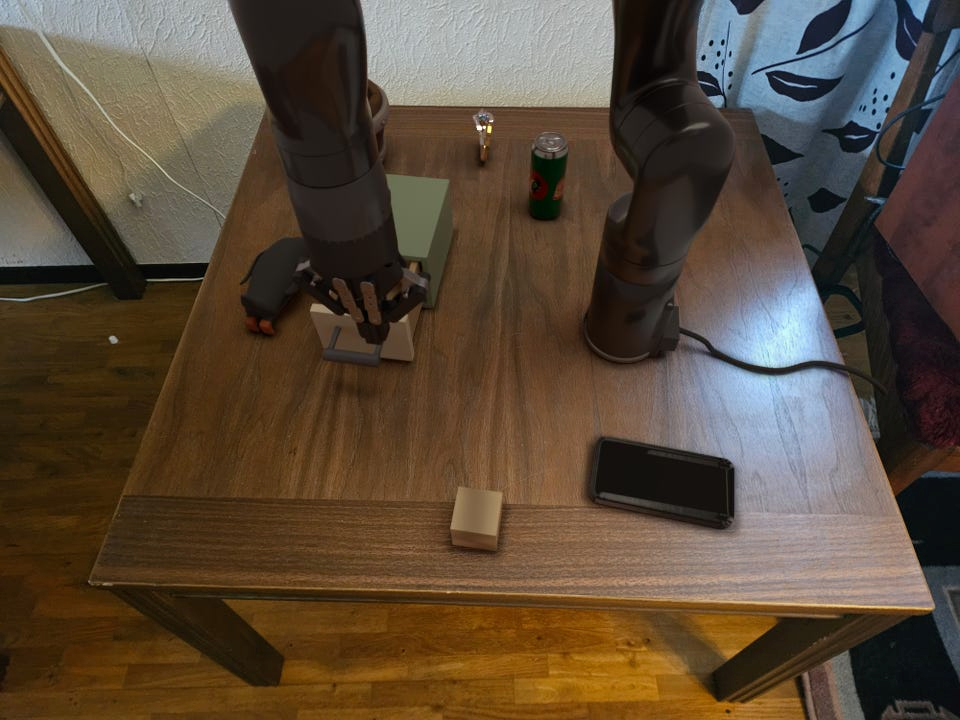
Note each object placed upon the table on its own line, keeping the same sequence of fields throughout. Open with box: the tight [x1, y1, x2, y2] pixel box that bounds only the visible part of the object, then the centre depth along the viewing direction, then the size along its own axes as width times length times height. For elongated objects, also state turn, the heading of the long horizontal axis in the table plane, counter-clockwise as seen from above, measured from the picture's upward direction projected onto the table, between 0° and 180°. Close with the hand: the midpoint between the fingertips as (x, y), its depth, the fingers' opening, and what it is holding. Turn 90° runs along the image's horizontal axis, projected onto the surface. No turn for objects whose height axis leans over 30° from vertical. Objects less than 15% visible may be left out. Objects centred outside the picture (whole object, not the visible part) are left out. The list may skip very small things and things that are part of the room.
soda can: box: [527, 131, 570, 220], centre depth 90 cm, size 5×5×12 cm
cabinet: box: [386, 173, 454, 309], centre depth 85 cm, size 15×13×10 cm
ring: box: [472, 108, 495, 162], centre depth 99 cm, size 7×3×8 cm, turn 178°
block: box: [449, 485, 504, 552], centre depth 65 cm, size 5×5×5 cm
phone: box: [588, 435, 736, 530], centre depth 69 cm, size 8×1×15 cm
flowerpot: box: [367, 78, 391, 163], centre depth 94 cm, size 14×15×20 cm
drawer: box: [309, 260, 423, 368], centre depth 78 cm, size 18×11×8 cm, turn 171°
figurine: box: [239, 236, 310, 336], centre depth 83 cm, size 7×10×15 cm
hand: (376, 337), depth 64 cm, fingers closed
